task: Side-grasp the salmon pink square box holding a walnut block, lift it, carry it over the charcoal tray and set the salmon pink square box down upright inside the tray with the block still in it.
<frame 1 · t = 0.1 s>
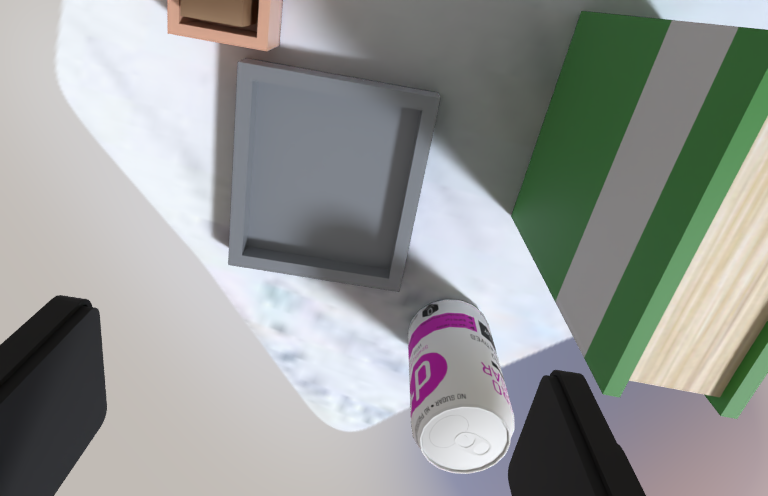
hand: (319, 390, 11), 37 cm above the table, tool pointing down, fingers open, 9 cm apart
tray: (329, 178, 48), on the table
supplement can: (447, 328, 55), on the table
hardback book: (584, 130, 45), on the table
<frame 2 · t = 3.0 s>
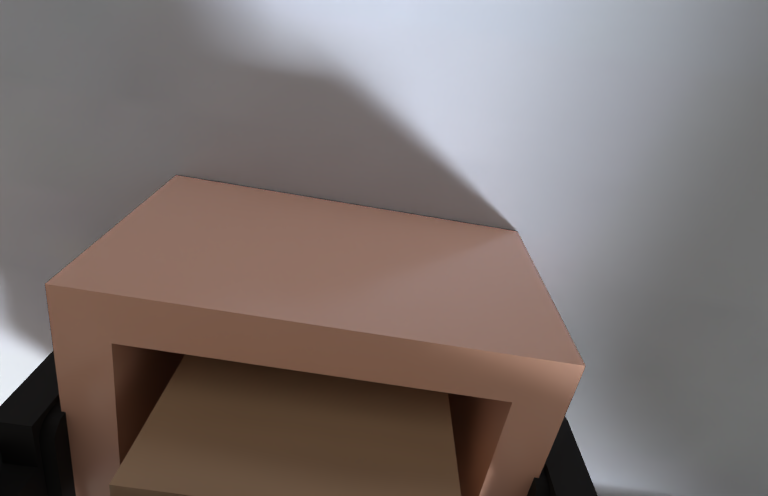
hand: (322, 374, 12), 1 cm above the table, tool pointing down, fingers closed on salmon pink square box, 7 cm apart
salmon pink square box: (328, 343, 13), on the table, touching block, gripper
block: (326, 356, 12), resting on salmon pink square box
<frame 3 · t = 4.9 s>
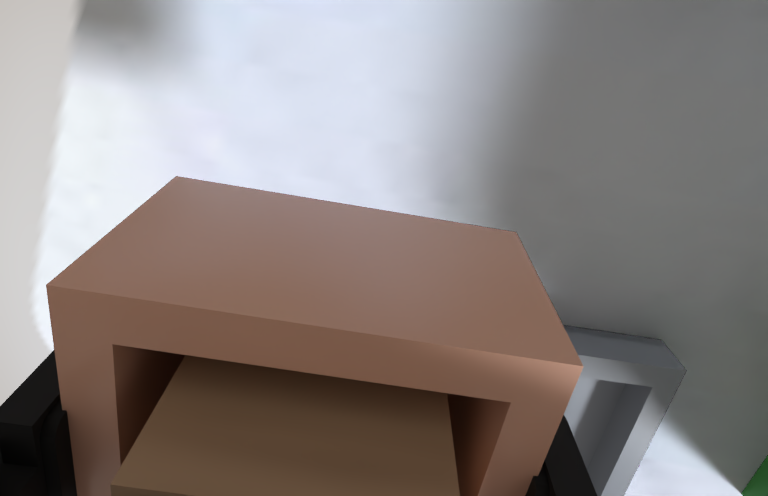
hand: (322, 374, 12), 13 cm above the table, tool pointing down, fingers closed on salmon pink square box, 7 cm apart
salmon pink square box: (328, 343, 13), point 12 cm above the table, touching block, gripper
tray: (468, 450, 30), on the table
block: (325, 356, 12), point 13 cm above the table, touching salmon pink square box
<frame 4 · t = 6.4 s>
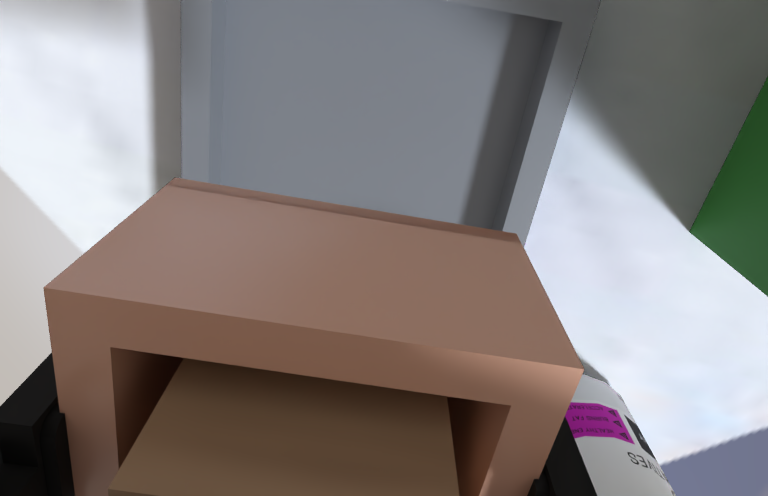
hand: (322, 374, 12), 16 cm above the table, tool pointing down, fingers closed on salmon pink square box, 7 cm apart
salmon pink square box: (328, 345, 13), point 15 cm above the table, touching block, gripper
tray: (364, 165, 26), on the table
supplement can: (553, 415, 33), on the table
block: (325, 358, 12), point 15 cm above the table, touching salmon pink square box
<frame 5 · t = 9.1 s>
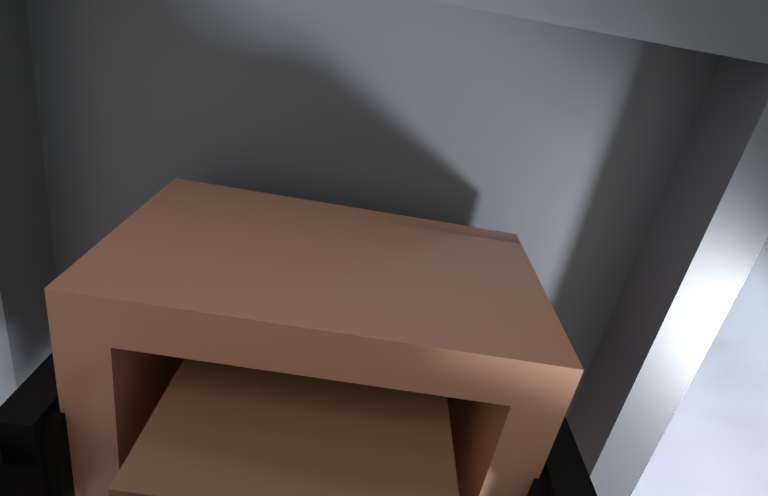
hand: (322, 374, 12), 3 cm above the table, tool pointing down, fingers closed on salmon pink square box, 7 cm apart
salmon pink square box: (328, 345, 13), point 1 cm above the table, touching block, gripper
tray: (333, 315, 14), on the table
block: (325, 358, 12), point 2 cm above the table, touching salmon pink square box
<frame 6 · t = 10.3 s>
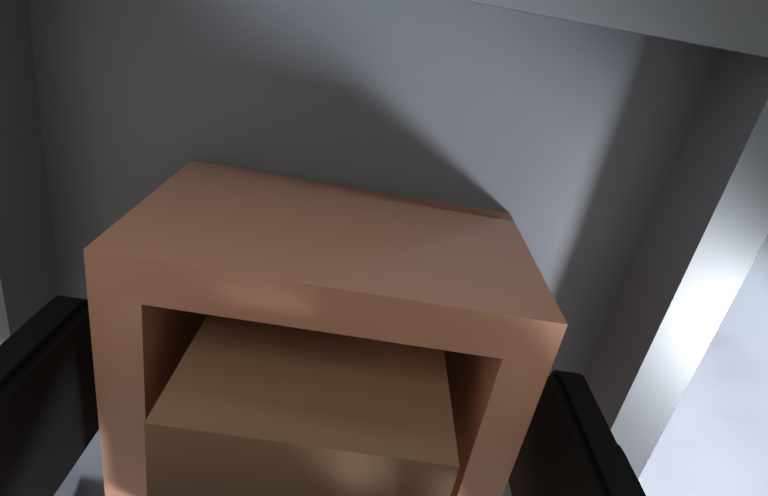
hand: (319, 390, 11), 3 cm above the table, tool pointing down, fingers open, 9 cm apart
salmon pink square box: (333, 320, 13), point 1 cm above the table, touching block, tray
tray: (334, 310, 14), on the table
block: (331, 331, 13), point 1 cm above the table, touching salmon pink square box
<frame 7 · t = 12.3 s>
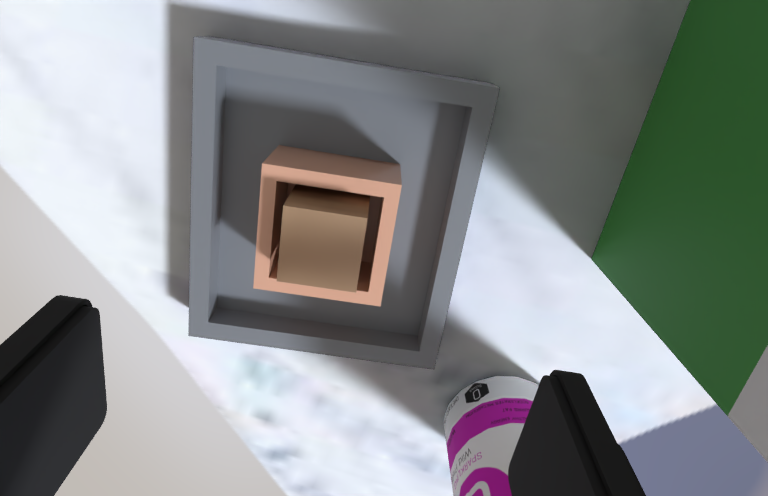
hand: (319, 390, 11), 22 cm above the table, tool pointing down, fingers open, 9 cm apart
salmon pink square box: (332, 211, 33), point 1 cm above the table, touching block, tray
tray: (333, 210, 33), on the table
supplement can: (497, 413, 39), on the table
block: (331, 214, 32), point 1 cm above the table, touching salmon pink square box
hardback book: (700, 135, 31), on the table
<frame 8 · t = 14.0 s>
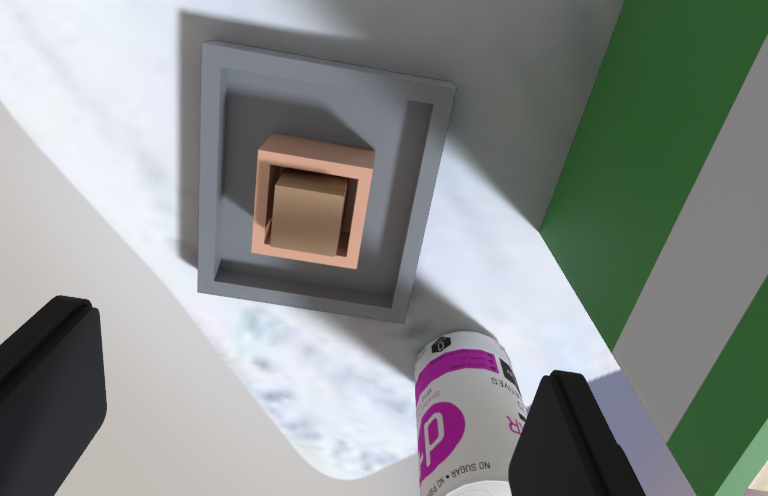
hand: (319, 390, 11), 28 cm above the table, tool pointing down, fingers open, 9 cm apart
salmon pink square box: (318, 189, 39), point 1 cm above the table, touching block, tray
tray: (319, 188, 39), on the table
supplement can: (461, 364, 46), on the table
block: (317, 191, 38), point 1 cm above the table, touching salmon pink square box
hardback book: (630, 129, 37), on the table
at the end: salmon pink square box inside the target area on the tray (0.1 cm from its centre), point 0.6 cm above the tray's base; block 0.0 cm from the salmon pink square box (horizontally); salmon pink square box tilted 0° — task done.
